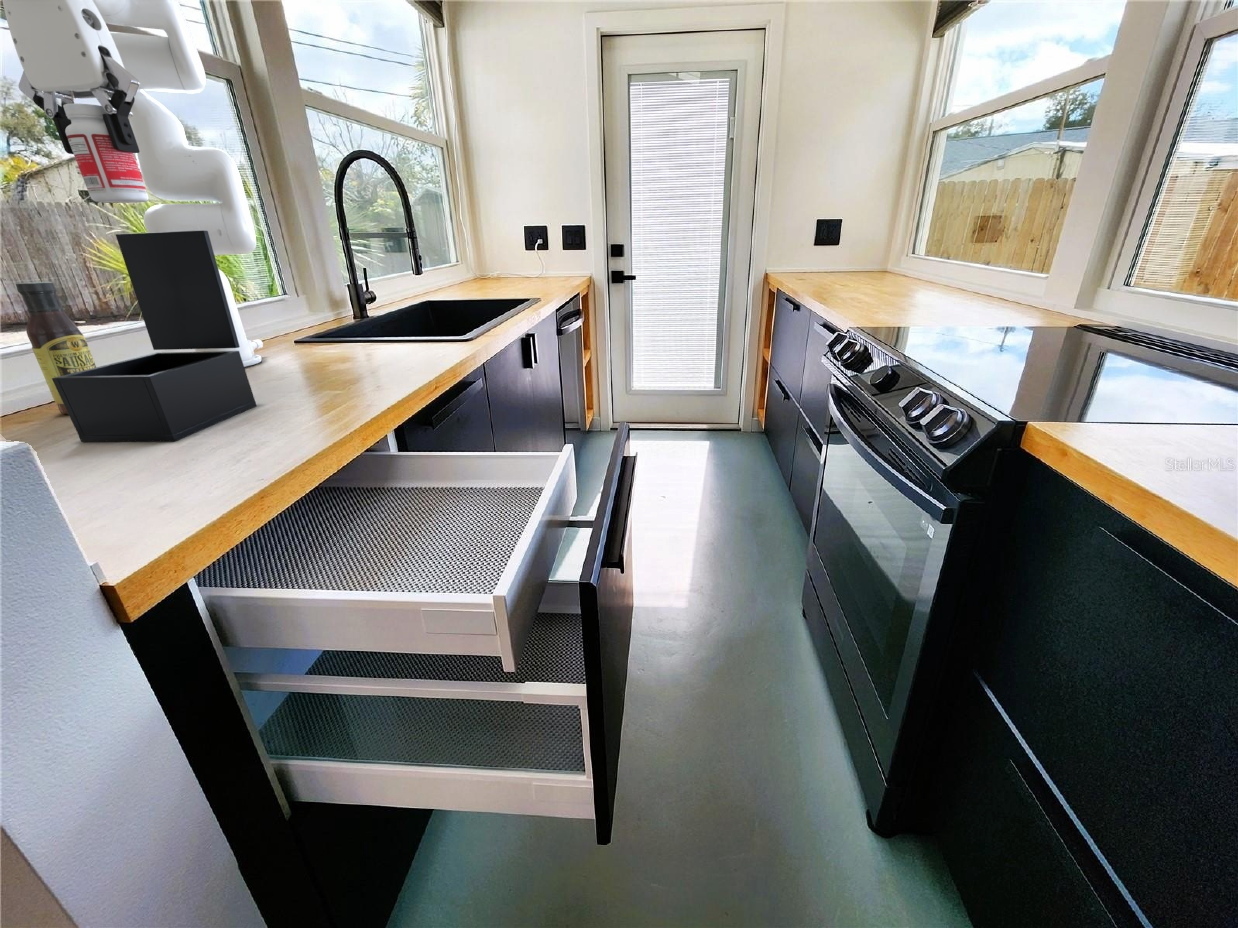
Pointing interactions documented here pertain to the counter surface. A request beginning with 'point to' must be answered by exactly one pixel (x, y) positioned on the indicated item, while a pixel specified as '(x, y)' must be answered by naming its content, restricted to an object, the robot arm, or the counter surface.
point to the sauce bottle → (53, 336)
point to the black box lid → (179, 289)
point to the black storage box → (156, 396)
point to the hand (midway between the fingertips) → (103, 151)
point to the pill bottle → (102, 158)
